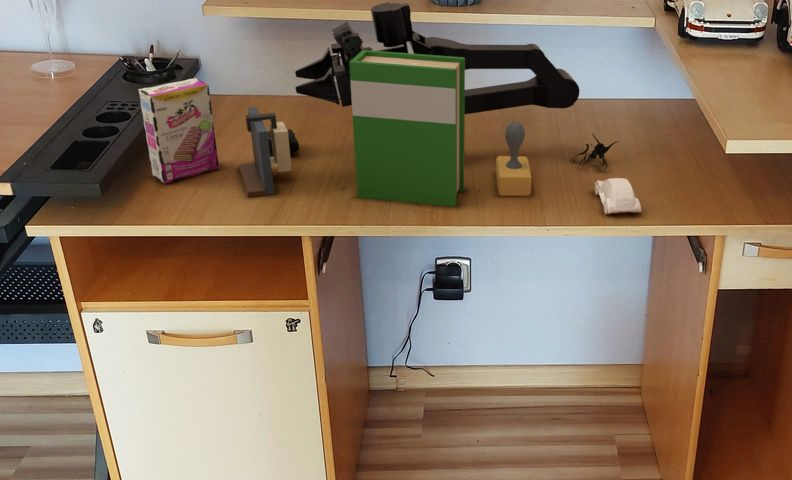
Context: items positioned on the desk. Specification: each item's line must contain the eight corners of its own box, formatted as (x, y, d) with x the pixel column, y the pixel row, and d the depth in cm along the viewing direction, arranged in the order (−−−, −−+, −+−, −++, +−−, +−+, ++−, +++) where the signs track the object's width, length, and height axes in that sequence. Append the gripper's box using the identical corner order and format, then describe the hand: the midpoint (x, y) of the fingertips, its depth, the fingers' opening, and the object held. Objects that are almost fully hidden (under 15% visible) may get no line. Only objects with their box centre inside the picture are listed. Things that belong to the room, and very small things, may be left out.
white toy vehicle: (642, 217, 155) (645, 192, 153) (607, 219, 154) (609, 193, 152) (623, 188, 165) (625, 165, 163) (590, 190, 164) (592, 166, 162)
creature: (597, 180, 171) (622, 160, 175) (596, 156, 168) (621, 136, 172) (565, 168, 176) (590, 149, 180) (563, 144, 172) (589, 126, 176)
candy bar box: (165, 185, 161) (149, 96, 153) (152, 176, 164) (135, 88, 156) (221, 169, 168) (209, 83, 160) (208, 161, 171) (195, 76, 163)
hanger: (287, 160, 167) (281, 108, 161) (291, 170, 163) (286, 117, 158) (250, 164, 164) (244, 112, 159) (254, 175, 160) (248, 121, 155)
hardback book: (464, 189, 163) (464, 57, 151) (455, 206, 157) (455, 70, 144) (369, 180, 165) (362, 49, 153) (357, 197, 159) (349, 62, 147)
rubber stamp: (530, 196, 162) (533, 132, 155) (498, 195, 161) (500, 132, 155) (526, 174, 170) (529, 112, 164) (495, 173, 170) (497, 112, 163)
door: (269, 166, 170) (263, 106, 164) (281, 193, 160) (274, 130, 154) (238, 169, 168) (230, 109, 162) (248, 197, 158) (240, 134, 152)
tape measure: (300, 157, 174) (299, 139, 172) (264, 160, 172) (262, 142, 170) (296, 144, 180) (294, 126, 178) (260, 147, 178) (258, 129, 176)
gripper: (369, 8, 167) (284, 23, 165) (377, 35, 151) (284, 52, 150) (380, 67, 173) (299, 82, 171) (389, 99, 157) (300, 115, 156)
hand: (295, 81), depth 162 cm, fingers open, 9 cm apart
